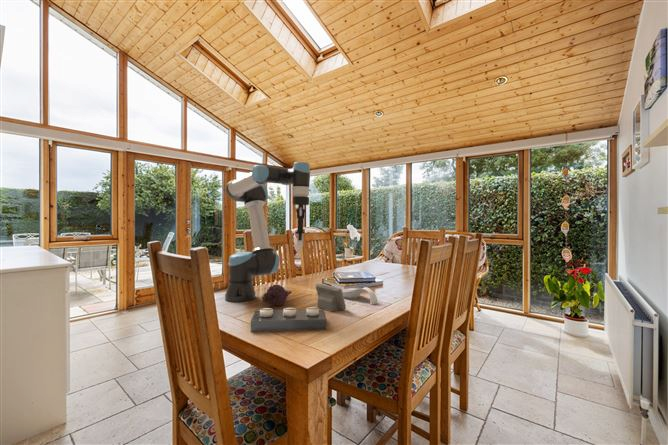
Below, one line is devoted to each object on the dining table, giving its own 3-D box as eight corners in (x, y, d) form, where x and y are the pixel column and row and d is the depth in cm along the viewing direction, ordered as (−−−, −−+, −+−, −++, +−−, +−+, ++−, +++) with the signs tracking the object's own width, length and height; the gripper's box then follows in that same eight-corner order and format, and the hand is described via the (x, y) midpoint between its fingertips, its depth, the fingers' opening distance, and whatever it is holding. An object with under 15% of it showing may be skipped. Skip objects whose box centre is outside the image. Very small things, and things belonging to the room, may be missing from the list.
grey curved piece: (334, 296, 165) (335, 283, 165) (350, 293, 173) (350, 280, 173) (366, 307, 147) (367, 292, 147) (383, 302, 155) (383, 288, 155)
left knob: (258, 326, 117) (258, 311, 117) (260, 322, 122) (260, 307, 122) (272, 326, 117) (272, 311, 117) (273, 321, 122) (273, 307, 122)
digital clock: (347, 310, 140) (348, 287, 140) (331, 314, 135) (332, 290, 135) (327, 302, 154) (327, 281, 153) (312, 305, 148) (312, 283, 148)
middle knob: (282, 325, 118) (282, 310, 118) (283, 321, 123) (283, 307, 123) (295, 325, 118) (296, 310, 118) (296, 321, 123) (296, 306, 123)
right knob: (306, 325, 119) (306, 310, 119) (306, 320, 124) (306, 306, 124) (319, 324, 119) (319, 310, 119) (318, 320, 124) (318, 306, 124)
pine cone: (269, 312, 136) (269, 289, 136) (254, 308, 142) (254, 286, 142) (296, 303, 151) (296, 283, 151) (281, 299, 157) (281, 280, 156)
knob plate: (250, 331, 113) (250, 321, 113) (255, 320, 125) (255, 311, 125) (326, 329, 116) (326, 319, 116) (323, 319, 128) (323, 309, 128)
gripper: (309, 195, 135) (308, 249, 136) (308, 197, 148) (307, 245, 149) (292, 195, 134) (291, 248, 135) (293, 196, 147) (292, 245, 148)
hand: (299, 247), depth 142 cm, fingers closed
